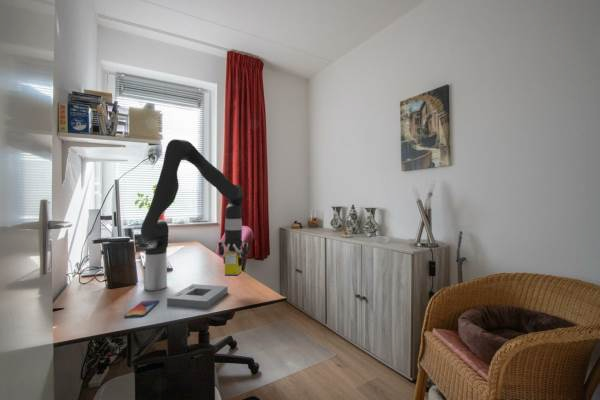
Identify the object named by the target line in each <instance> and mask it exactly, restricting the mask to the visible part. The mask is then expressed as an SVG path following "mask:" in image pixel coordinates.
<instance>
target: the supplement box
mask: <svg viewBox="0 0 600 400" xmlns="http://www.w3.org/2000/svg"><path fill="white" fill-rule="evenodd" d="M224 252H225V251H224ZM242 265H243V264H242ZM242 265H241V266H239V256H238V252H236V251H229V250H228V251H226V252H225V264H224V276H225V277H238V276H239V275H241V273H242V267H243V266H242Z"/></svg>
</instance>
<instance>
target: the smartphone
mask: <svg viewBox="0 0 600 400" xmlns="http://www.w3.org/2000/svg"><path fill="white" fill-rule="evenodd" d="M159 303H160V300H159V299H157V300H142V301H140V302H139V303H138V304H137V305H135V306H134V307H133V308H131V309H130V310H128V312H126V313H125V314H124V315H123V316H124V319H129V318H131V319H133V318H143V317H146V315H148V313H150V312H151V311H152V310H153V309H154V308H155V307H156V306H157V305H158V304H159Z"/></svg>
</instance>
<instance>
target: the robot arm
mask: <svg viewBox="0 0 600 400" xmlns="http://www.w3.org/2000/svg"><path fill="white" fill-rule="evenodd" d="M182 161H186V162H188V163H190V164H192V165H193V166H194V167H195V168H196V169H197V170H198V172H199V173H200V175H201V176H202V177H203V178H204V180H206V181H207V182H208V183H209V184H210V185H212V186H213V187H215V188H216V190H217V191H218V192H219V193H220V195H221V196H223V197H224V198H225V199H227V200H228V204H227V206H226V207H225V220H224V221H225V222H224V241H219V242H218V252H219V256H222V257H223V264H224V265H225V252H226V251H228V250H229V251H236V252H238V256H239V266H241V265H243V264H244V257H246V256H248V252H249V242H243V240H242V239H243V222H242V207H243V202H244V190H243V188H242V186H240V185H238V184H234V183H233V182H231V181H230V180H229V179H228V177H227V176H226V175H225V174H224V173H223V172H221V170H219V169H218V168H217V167H216V166H214V165H213V164H212V163H211V162H210V161H208V160H207V159H206V157H204V156H203V155H202V154H201V153H200V151H198V149H197V148H196V147H195V145H193V143H192V142H190V141H189V140H186V139H179V138H176V139H175V138H173V139H171V140H169V142H168V143H167V145H166V148H165V152H164V158H163V161H162V162H163V163H162V167H161V171H160V174H159V177H158V181H157V184H156V186H155V189H154V193H153V196H152V200H151V203H150V205H149V208H148V210H147V212H146V215H145V218H144V220H143V221H142V224H141V228H140V235H141V238H142V239H143V240H144V241H153V240H154V241H153V242H152V243H151V244H150V245H148V246H147V247H145V249H144V252H145V258H144V259H145V260H144V265H145V264H146V269H145V268H144V269H143V289H144V290H146V291H160V290H162V289H165V288H167V287H168V273H167V272H168V271H167V270H168V269H167V268H168V265H167V264H168V263H167V262H168V261H167V259H168V258H167V257H168V255H167V250H168V249H167V248H168V245H169V232H170V231H169V225H168V223H167V221H166V220H163V219H160V218H161V216H162V215H163V213H164V212H166V211H167V209H168V208H170V206H172V204H173V203H174V201H175V199H176V197H177V195H178V191H179V184H180V183H179V179H178V171H179V167H180V164H181V162H182ZM241 247H242V248H241ZM241 267H242V266H241Z"/></svg>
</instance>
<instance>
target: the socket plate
mask: <svg viewBox="0 0 600 400" xmlns="http://www.w3.org/2000/svg"><path fill="white" fill-rule="evenodd" d="M228 287H229V286H224V285H210V284H194V283H192V284H191V285H189V286H187V287H185V288H183V289H181V290H179V291H177V292H176V293H174V294H172V295H171V296H170V295H169V297H166V305H167V306H171V307H180V308H181V307H183V308H195V309H203V308H204V310H205V309H206V310H207V309H209V308H210V307H211V306H212V305H214V304H215V303H216V302H217V301H219V300H220V299H221V298H223V297H224V296H226V294H227V295H228V291H229V288H228Z"/></svg>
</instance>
